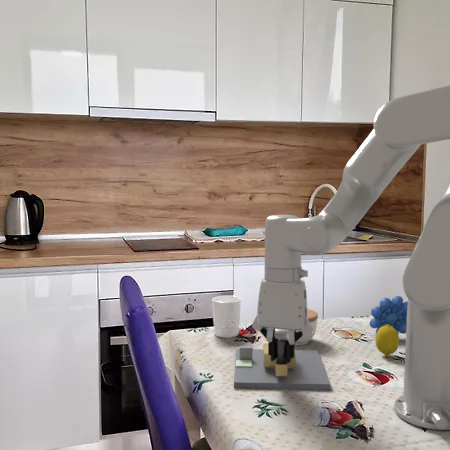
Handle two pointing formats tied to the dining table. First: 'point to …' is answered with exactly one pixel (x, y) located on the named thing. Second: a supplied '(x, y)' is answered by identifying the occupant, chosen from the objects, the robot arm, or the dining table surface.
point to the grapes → (390, 314)
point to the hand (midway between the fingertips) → (281, 359)
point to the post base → (266, 377)
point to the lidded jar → (312, 319)
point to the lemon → (387, 340)
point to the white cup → (226, 315)
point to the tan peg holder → (278, 357)
